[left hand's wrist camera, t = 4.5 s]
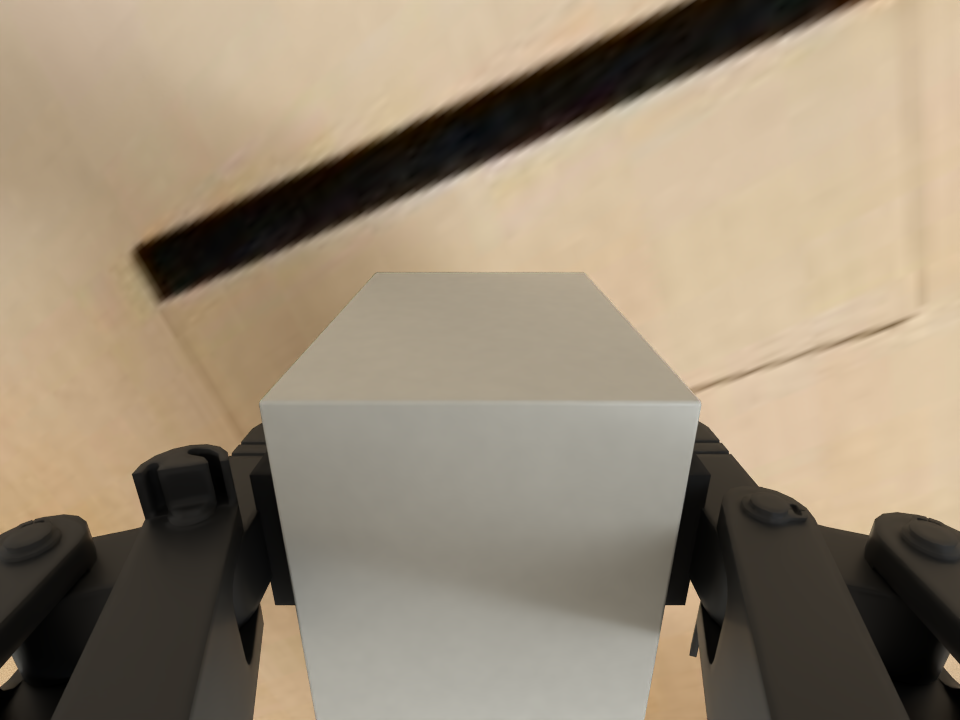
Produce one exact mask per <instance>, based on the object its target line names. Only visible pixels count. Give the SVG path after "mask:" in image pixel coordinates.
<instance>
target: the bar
mask: <svg viewBox="0 0 960 720" xmlns="http://www.w3.org/2000/svg"><path fill="white" fill-rule="evenodd" d="M259 407H260V412H261V418H262V423H263V429H264V434H265V440H266V445H267V451H268V456H269V462H270V468H271V473H272V479H273V484H274V490H275V495H276V501H277V506H278V512H279V517H280V523H281V528H282V534H283V540H284V545H285V551H286V556H287V562H288V567H289V573H290V578H291V584H292V589H293V595H294V600H295V606H296V612H297V617H298V623H299V628H300V634H301V639H302V645H303V650H304V656H305V661H306V667H307V672H308V678H309V684H310V689H311V695H312V700H313V706H314V711H315V717H316V720H644V718H645V713H646V707H647V702H648V696H649V691H650V685H651V680H652V674H653V669H654V663H655V658H656V652H657V647H658V641H659V636H660V630H661V625H662V619H663V614H664V608H665V603H666V597H667V592H668V586H669V580H670V575H671V569H672V564H673V558H674V553H675V547H676V542H677V536H678V531H679V525H680V520H681V514H682V509H683V503H684V498H685V492H686V487H687V481H688V476H689V470H690V465H691V459H692V454H693V448H694V442H695V437H696V431H697V426H698V420H699V415H700V409H701V401H700V400H699V399H698V398H697V396H696V395H695V394H694V393H693V392H692V391H691V390H690V389H689V388H688V386H687V385H686V384H685V383H684V382H683V381H682V380H681V379H680V378H679V377H678V375H677V374H676V373H675V372H674V371H673V370H672V369H671V368H670V367H669V365H668V364H667V363H666V362H665V361H664V360H663V359H662V358H661V357H660V356H659V354H658V353H657V352H656V351H655V350H654V349H653V348H652V347H651V346H650V344H649V343H648V342H647V341H646V340H645V339H644V338H643V337H642V336H641V335H640V333H639V332H638V331H637V330H636V329H635V328H634V327H633V326H632V325H631V323H630V322H629V321H628V320H627V319H626V318H625V317H624V316H623V315H622V314H621V312H620V311H619V310H618V309H617V308H616V307H615V306H614V305H613V304H612V302H611V301H610V300H609V299H608V298H607V297H606V296H605V295H604V294H603V293H602V291H601V290H600V289H599V288H598V287H597V286H596V285H595V284H594V283H593V281H592V280H591V279H590V278H589V277H588V276H587V275H586V274H585V273H583V272H377V273H375V274H374V275H373V276H372V278H371V279H370V280H369V281H368V282H367V283H366V284H365V285H364V286H363V287H362V289H361V290H360V291H359V292H358V293H357V294H356V295H355V296H354V297H353V299H352V300H351V301H350V302H349V303H348V304H347V305H346V306H345V307H344V308H343V310H342V311H341V312H340V313H339V314H338V315H337V316H336V317H335V318H334V320H333V321H332V322H331V323H330V324H329V325H328V326H327V327H326V328H325V329H324V331H323V332H322V333H321V334H320V335H319V336H318V337H317V338H316V339H315V341H314V342H313V343H312V344H311V345H310V346H309V347H308V348H307V349H306V350H305V352H304V353H303V354H302V355H301V356H300V357H299V358H298V359H297V360H296V361H295V363H294V364H293V365H292V366H291V367H290V368H289V369H288V370H287V371H286V373H285V374H284V375H283V376H282V377H281V378H280V379H279V380H278V381H277V382H276V384H275V385H274V386H273V387H272V388H271V389H270V390H269V391H268V392H267V394H266V395H265V396H264V397H263V398H262V399H261V400H260V403H259Z"/></svg>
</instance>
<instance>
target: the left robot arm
mask: <svg viewBox="0 0 960 720" xmlns="http://www.w3.org/2000/svg"><path fill="white" fill-rule="evenodd" d="M132 476H133V479H134V483H135V486H136V489H137V493H138V496H139V499H140V503H141V506H142V509H143V513H144V516H145V521H144V523H143V525H142V527H140V528H136V529H132V530H127V531H122V532H117V533H112V534H107V535H102V536H97V537H92V536H91V533H90V530H89V528H88V525H87V522H86V521H85V520H83V519H82V518H80V517H79V516H74V515H56V516H49V517H42V518H38V519H35V520H34V521H32V520H31V521H28V522H25V523H22V524H20V525H19V526H17V527H15V528H13V529H11V530H9V531H7V532H5V533H3V534H1V535H0V668H1V667H2V666H3V665H4V664H5V663H6V661H7V660H8V659H9V658H10V657H11V656H12V657H13V659H14V661H15V663H16V665H17V667H18V670H17V671H16V672H15V673H14V674H13V675H12V677H11V678H10V679H9V680H8V681H7V682H6V683H4V684H3V685H2V686H1V687H0V720H253V714H254V705H255V696H256V687H257V678H258V669H259V661H260V652H261V643H262V634H263V625H264V622H263V616H262V610H261V606H260V601H261V599H262V597H263V595H264V593H265V591H266V589H267V587H268V585H269V583H270V581H271V586H272V591H273V596H274V601H275V605H295V600H294V595H293V589H292V584H291V578H290V573H289V567H288V562H287V556H286V551H285V545H284V540H283V534H282V528H281V523H280V517H279V512H278V506H277V501H276V495H275V490H274V484H273V479H272V473H271V468H270V462H269V456H268V451H267V445H266V440H265V434H264V429H263V423H261V424H259V425H258V426H256V427H254V428H253V429H252V430H251V431H250V432H249V433H248V435H247V436H246V437H245V438H244V439H243V441H242V442H241V445H238V447H237V448H236V449H235V450H234V451H233V453H232V456H229V457H228V452H227V451H225V450H224V449H222V448H221V447H218V446H213V445H208V444H204V445H189V446H185V447H180V448H175V449H172V450H169V451H167V452H164V453H161V454H159V455H156V456H154V457H153V458H151V459H149V460H148V461H146V462H144V463H143V464H141V465H140V466H139V467H138V468H137V469H136V470H135V471H134V473H133V474H132ZM690 580H691V582H692V584H693V586H694V588H695V590H696V592H697V594H698V596H699V598H700V600H701V601H700V606H699V610H698V615H697V620H696V624H695V629H694V634H693V638H692V643H691V649H690V656H694V657H696V656H697V652H698V647H699V650H700V659H701V668H702V677H703V686H704V694H705V703H706V712H707V720H960V684H959V683H958V682H957V681H955V680H954V679H953V678H952V677H951V675H950V674H949V673H948V672H947V671H946V670H945V668H944V667H943V666H944V664H945V662H946V660H947V658H948V656H949V654H951V655H952V656H953V657H954V658H955V659H956V660H957V661H958V663H959V664H960V531H957V530H955V529H953V528H951V527H949V526H947V525H945V524H943V523H942V522H940V521H937V520H934V519H931V518H929V519H928V518H927V517H924V516H920V515H914V514H906V513H899V512H895V513H886V514H882V515H881V516H879V517H878V518H876V519H875V521H874V523H873V526H872V529H871V532H870V535H864V534H859V533H854V532H849V531H844V530H839V529H834V528H829V527H825V526H821V525H817V522H816V520H815V518H814V517H813V516H812V515H811V513H810V512H809V511H808V509H807V508H806V507H804V506H803V505H801V504H800V503H799V502H797V501H796V500H794V499H793V498H791V497H789V496H786V495H784V494H782V493H780V492H778V491H775V490H771V489H767V488H763V487H758V485H757V484H756V483H755V482H754V481H753V479H752V478H751V477H750V476H749V475H748V474H747V472H746V471H745V470H744V469H743V468H742V466H741V465H740V464H739V463H738V462H737V461H736V459H735V458H734V457H733V456H732V455H731V454H729V451H728V450H727V449H726V447H725V446H724V445H723V444H722V443H720V442H719V439H718V438H717V437H716V436H715V434H714V433H713V432H712V431H711V430H710V429H709V427H707V426H706V425H704V424H702V423H701V422H699V421H698V426H697V431H696V437H695V442H694V448H693V454H692V459H691V465H690V470H689V476H688V481H687V487H686V492H685V498H684V503H683V509H682V514H681V520H680V525H679V531H678V536H677V542H676V547H675V553H674V558H673V564H672V569H671V575H670V580H669V586H668V592H667V597H666V603H665V605H685V603H686V598H687V593H688V588H689V583H690Z"/></svg>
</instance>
